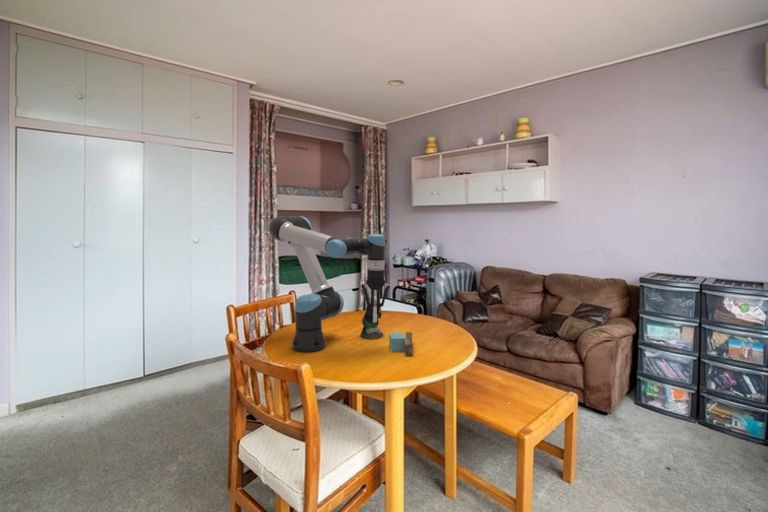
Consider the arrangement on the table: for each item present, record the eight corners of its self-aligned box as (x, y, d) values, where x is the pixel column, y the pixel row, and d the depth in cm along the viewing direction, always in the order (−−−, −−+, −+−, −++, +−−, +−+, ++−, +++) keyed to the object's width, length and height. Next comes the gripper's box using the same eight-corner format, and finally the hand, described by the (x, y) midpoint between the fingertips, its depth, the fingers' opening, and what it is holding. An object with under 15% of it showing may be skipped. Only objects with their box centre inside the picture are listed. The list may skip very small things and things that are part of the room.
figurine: (379, 342, 191) (385, 292, 187) (353, 338, 193) (359, 288, 190) (384, 335, 201) (390, 288, 198) (359, 331, 204) (365, 284, 200)
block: (391, 352, 173) (391, 338, 173) (389, 345, 182) (389, 333, 182) (405, 351, 174) (405, 338, 173) (402, 345, 183) (402, 332, 182)
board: (405, 355, 168) (405, 344, 168) (405, 342, 186) (405, 332, 186) (412, 356, 168) (412, 344, 167) (412, 342, 186) (412, 332, 185)
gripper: (360, 270, 171) (359, 323, 174) (390, 271, 170) (389, 324, 173) (362, 267, 178) (361, 318, 181) (391, 268, 178) (390, 319, 180)
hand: (375, 321), depth 177 cm, fingers closed
